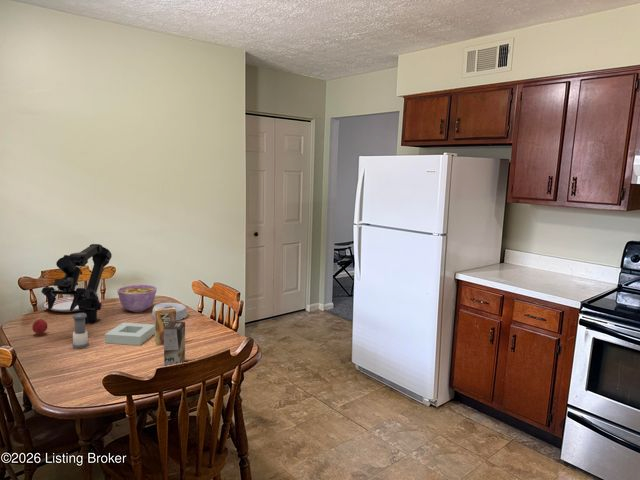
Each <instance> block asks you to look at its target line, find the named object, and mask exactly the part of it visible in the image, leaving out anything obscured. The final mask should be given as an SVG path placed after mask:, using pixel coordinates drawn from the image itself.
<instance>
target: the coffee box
mask: <svg viewBox="0 0 640 480" xmlns="http://www.w3.org/2000/svg"><path fill="white" fill-rule="evenodd" d="M184 359H185V360H186V321H176V322H169V324H168V325H167V326H166V327H165V328H164V343H163V367H164V366H167V365H172V364H177V363H181V362H183V363H184V362H185V360H184Z"/></svg>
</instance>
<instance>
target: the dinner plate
mask: <svg viewBox="0 0 640 480" xmlns="http://www.w3.org/2000/svg"><path fill="white" fill-rule="evenodd" d="M73 299H74V296H67V297H60V298H56V300H55V302H54V304H53V307H52V308H51V310H50V311H55V312H60V313H74V312H76V313H77V312H81V311H82V312H83V310H81V311H80V310H79V307H78V305H77V306H76V307H75V308H74V309H73V310H72V311H70V307H71V304H72V302H73ZM98 301H99V302H100V303H101V302H102V299H101V298H99V297H98ZM43 304H44V305H43V306H44V308H45V309H47V310H48V301H47V302H45V303H43Z"/></svg>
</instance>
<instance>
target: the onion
mask: <svg viewBox="0 0 640 480" xmlns="http://www.w3.org/2000/svg"><path fill="white" fill-rule="evenodd" d="M31 327H32V328H31V329H32V331H33V332H34V334H37V335H39V336H40V335H43V334H44V333H45V332H46V331H47V330H48V323H47V322H46V321H45V320H43V319H42V317H39V318H37V320H35V321H34V322H33V324H32V326H31Z"/></svg>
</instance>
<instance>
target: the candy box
mask: <svg viewBox="0 0 640 480" xmlns="http://www.w3.org/2000/svg"><path fill="white" fill-rule="evenodd" d="M169 322H177V320H176V309H175V307H174V308H162V309H155V318H154V325H155V334H154V342H155V345H161V344H164V328H165V327H166V326H167V325H168V324H169Z"/></svg>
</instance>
